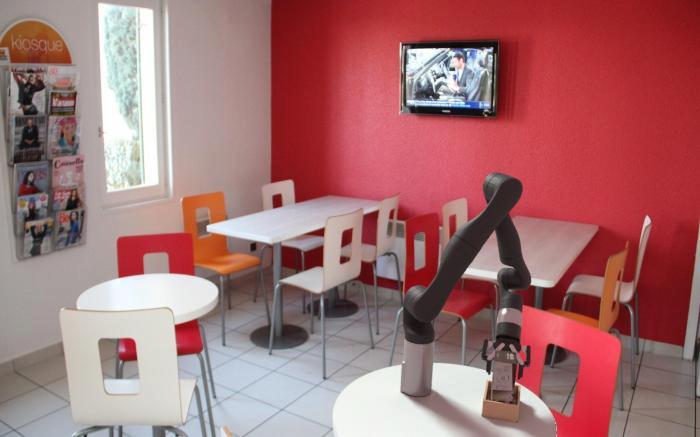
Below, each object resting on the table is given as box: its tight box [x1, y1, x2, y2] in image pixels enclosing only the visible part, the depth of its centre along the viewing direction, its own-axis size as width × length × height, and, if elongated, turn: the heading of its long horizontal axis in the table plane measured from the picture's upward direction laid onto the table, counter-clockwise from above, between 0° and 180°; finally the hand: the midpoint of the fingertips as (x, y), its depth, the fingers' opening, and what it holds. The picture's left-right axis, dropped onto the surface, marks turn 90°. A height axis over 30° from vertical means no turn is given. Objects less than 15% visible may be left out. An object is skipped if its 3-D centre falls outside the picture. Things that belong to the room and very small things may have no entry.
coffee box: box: [491, 349, 518, 404], centre depth 187 cm, size 9×6×16 cm
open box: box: [481, 379, 522, 423], centre depth 188 cm, size 10×13×5 cm
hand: (503, 376), depth 186 cm, fingers open, 8 cm apart
